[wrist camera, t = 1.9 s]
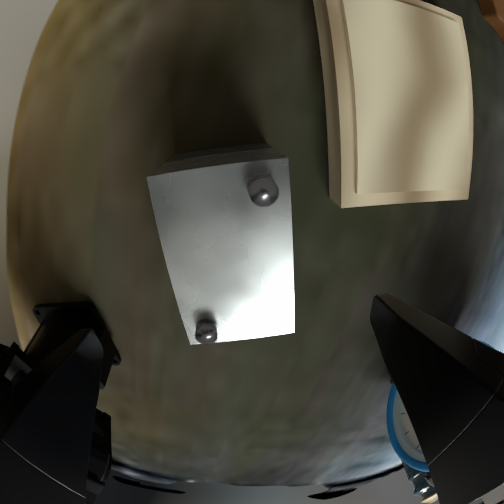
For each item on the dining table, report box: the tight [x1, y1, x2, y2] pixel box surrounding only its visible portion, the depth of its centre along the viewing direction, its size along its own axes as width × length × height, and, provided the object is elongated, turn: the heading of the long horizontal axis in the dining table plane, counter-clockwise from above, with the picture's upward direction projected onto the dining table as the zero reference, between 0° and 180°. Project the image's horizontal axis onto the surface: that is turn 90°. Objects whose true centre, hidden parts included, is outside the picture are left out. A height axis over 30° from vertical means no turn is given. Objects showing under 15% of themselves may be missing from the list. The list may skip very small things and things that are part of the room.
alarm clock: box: [387, 341, 494, 487], centre depth 19 cm, size 13×6×15 cm, turn 163°
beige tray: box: [313, 0, 473, 208], centre depth 13 cm, size 10×13×2 cm
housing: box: [147, 143, 294, 345], centre depth 14 cm, size 5×8×7 cm, turn 5°
